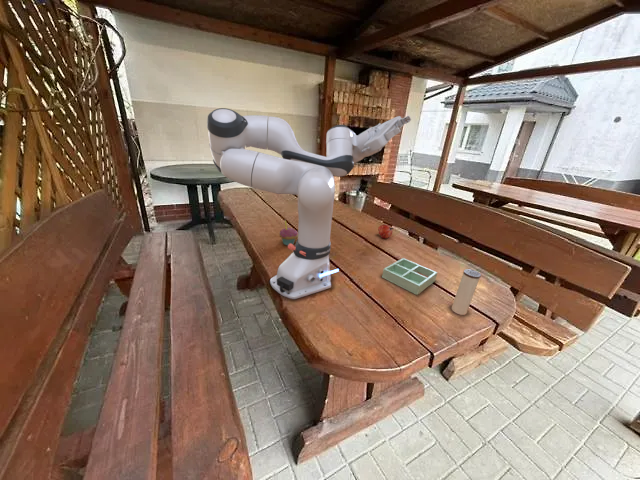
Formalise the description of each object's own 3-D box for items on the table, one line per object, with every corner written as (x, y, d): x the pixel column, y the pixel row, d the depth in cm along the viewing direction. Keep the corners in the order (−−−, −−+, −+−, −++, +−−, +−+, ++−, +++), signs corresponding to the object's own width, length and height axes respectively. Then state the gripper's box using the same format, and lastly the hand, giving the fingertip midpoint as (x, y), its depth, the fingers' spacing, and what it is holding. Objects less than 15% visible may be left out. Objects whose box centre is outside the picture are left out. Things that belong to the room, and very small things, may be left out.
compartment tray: (417, 295, 90) (419, 286, 88) (381, 277, 99) (383, 268, 98) (435, 281, 99) (437, 272, 98) (401, 265, 108) (403, 257, 107)
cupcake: (285, 248, 116) (285, 223, 111) (275, 241, 122) (275, 217, 117) (301, 244, 121) (302, 219, 116) (291, 237, 127) (291, 214, 122)
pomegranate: (374, 242, 135) (390, 236, 127) (370, 228, 136) (385, 222, 128) (383, 240, 140) (398, 234, 132) (378, 227, 141) (394, 220, 133)
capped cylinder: (463, 317, 81) (478, 278, 75) (448, 309, 84) (461, 272, 78) (468, 311, 84) (483, 273, 78) (454, 304, 87) (466, 267, 81)
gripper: (354, 145, 89) (388, 127, 79) (378, 123, 101) (410, 104, 91) (363, 161, 92) (397, 145, 81) (386, 137, 103) (418, 120, 93)
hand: (405, 123), depth 86 cm, fingers open, 8 cm apart
